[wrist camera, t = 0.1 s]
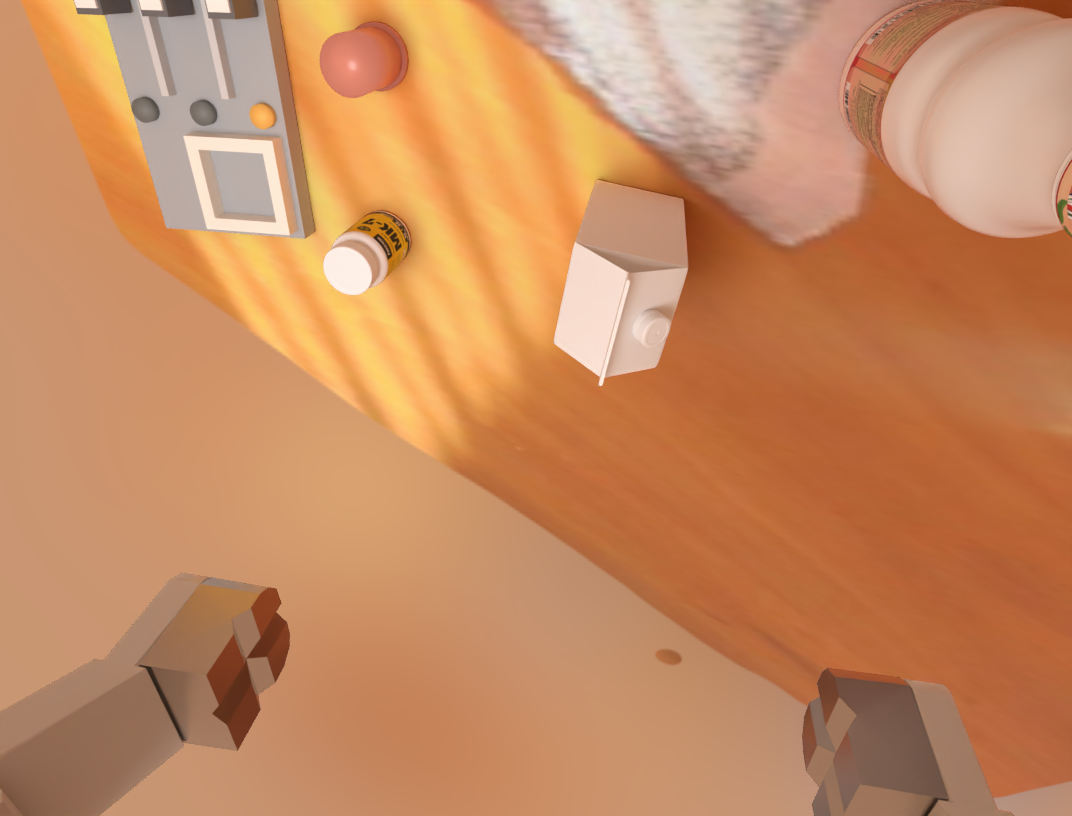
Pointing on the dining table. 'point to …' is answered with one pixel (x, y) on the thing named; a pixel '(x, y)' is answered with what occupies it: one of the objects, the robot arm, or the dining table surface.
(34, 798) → the robot arm
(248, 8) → the block
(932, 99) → the fruit juice
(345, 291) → the supplement bottle
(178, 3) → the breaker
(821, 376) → the dining table surface
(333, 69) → the cap
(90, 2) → the block
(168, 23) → the panel
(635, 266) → the milk carton
